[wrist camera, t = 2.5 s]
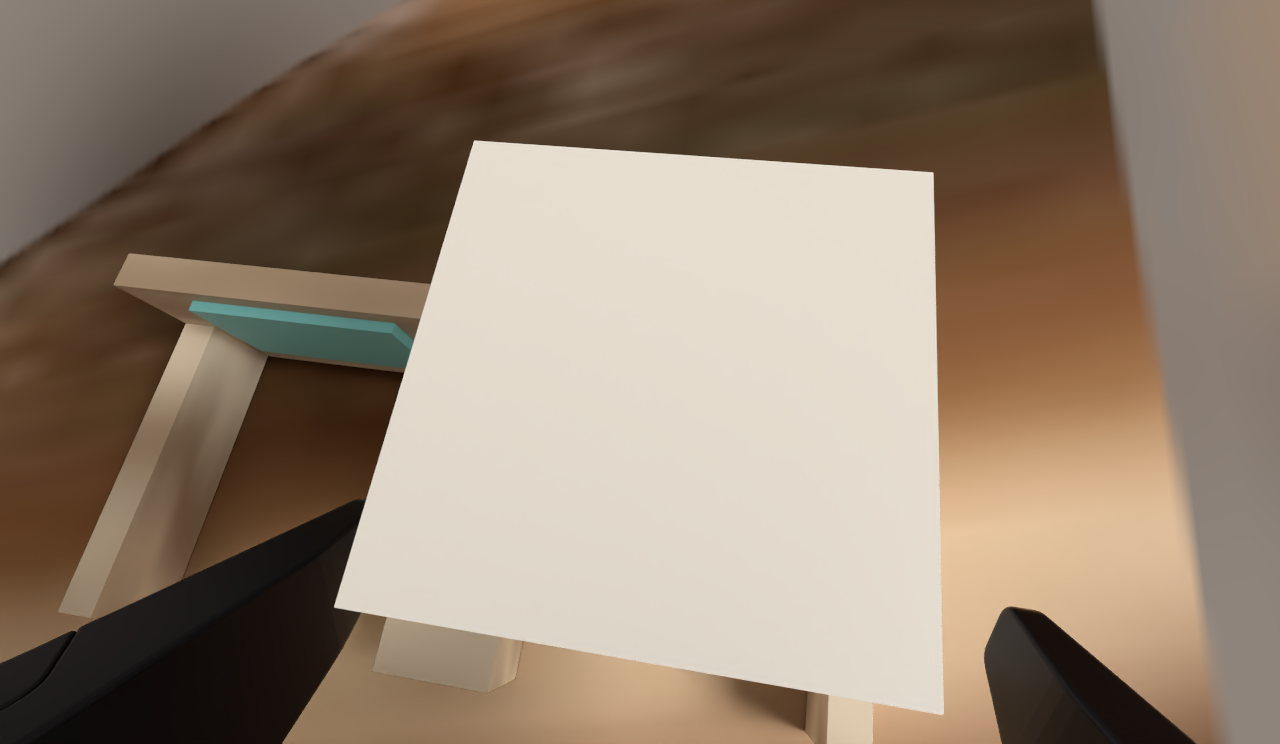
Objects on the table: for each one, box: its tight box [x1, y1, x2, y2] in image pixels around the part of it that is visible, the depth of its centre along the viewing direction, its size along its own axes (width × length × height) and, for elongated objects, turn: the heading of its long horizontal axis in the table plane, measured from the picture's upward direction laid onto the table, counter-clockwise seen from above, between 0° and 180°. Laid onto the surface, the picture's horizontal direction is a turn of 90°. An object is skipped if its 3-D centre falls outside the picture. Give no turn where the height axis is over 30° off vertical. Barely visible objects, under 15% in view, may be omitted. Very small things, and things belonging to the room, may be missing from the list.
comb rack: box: [58, 253, 873, 744], centre depth 16 cm, size 10×21×5 cm, turn 81°
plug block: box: [334, 141, 944, 715], centre depth 12 cm, size 5×5×13 cm
